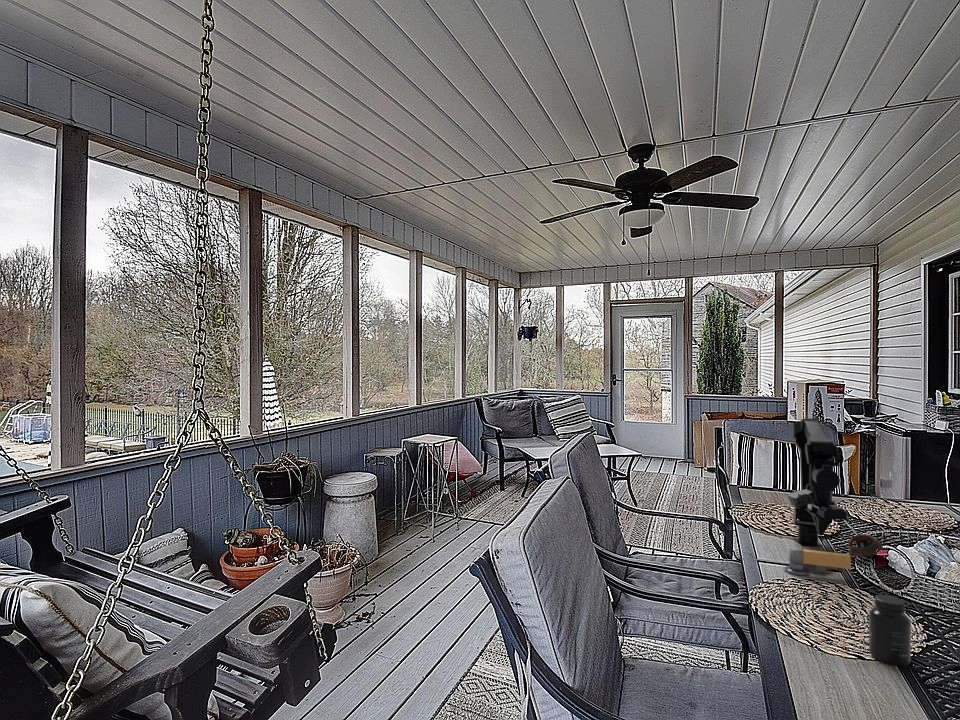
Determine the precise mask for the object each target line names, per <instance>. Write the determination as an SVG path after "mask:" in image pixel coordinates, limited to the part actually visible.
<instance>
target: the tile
mask: <svg viewBox="0 0 960 720" xmlns="http://www.w3.org/2000/svg"><path fill="white" fill-rule="evenodd" d="M804 568H805V569H807V570H808V571H809V573H813V574H820V573H824V572H826V571H828V570H827V566H820V565H812V564H804Z"/></svg>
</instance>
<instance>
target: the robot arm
mask: <svg viewBox="0 0 960 720" xmlns="http://www.w3.org/2000/svg"><path fill="white" fill-rule="evenodd" d="M791 438H792V439H793V444H794V446H795V447H796V448H797V449H798V451H799V472H800V477H799V478H800V490H798V491H797V490H796V491H793V492H791V493H788V494H787V496H788V500H789V502H790V504H791V506H793V511H792V522H793V524H794V526H797V537H796V538H793V540H794V541H795V542H796V543H798V544H799V545H801V546H803V547H823V544H822V543H820V542H819V536H823V535H824V534H825V532H826V531H827V529H828V528H829V526H830V525H831V523H832V522H833V520H840V521H841V520H844V521H846V520H849V514H848V511H846V509H844V508H842V507H840V506H838V505H836V501H833V492H836V488H837V487H839V486H840V479H841V478H840V477H839V474H838V473H836V472H835V471H834V467H840V464H841V456H840V451H839V448H837V445H836V444H835V443H834V441H833V440H832V439H831V438H829V437H826V436H825V434H824V433H823V426H822V424H821V421H820V419H817V418H813V417H812V418H807V417H804V418H801V419H800V421H797V422H794V423H793V425H792V428H791Z"/></svg>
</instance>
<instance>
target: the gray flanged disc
mask: <svg viewBox="0 0 960 720" xmlns="http://www.w3.org/2000/svg"><path fill="white" fill-rule="evenodd" d="M788 564H789V565H785V566H784V571H785V572H786V573H788V574H790V575H793V576H798V577H799V576H801V577H806V576H808V575H809V574H810V571H808V570H807V569H805V568H804V563H803V564H796V563H792V562H790V561H789V563H788Z"/></svg>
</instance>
